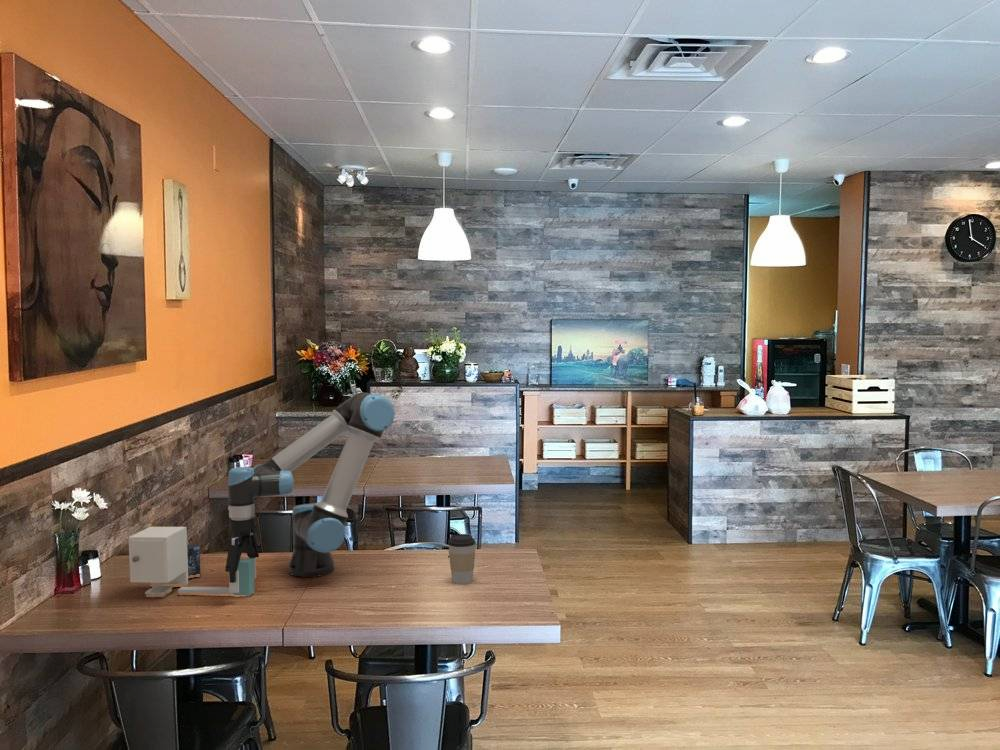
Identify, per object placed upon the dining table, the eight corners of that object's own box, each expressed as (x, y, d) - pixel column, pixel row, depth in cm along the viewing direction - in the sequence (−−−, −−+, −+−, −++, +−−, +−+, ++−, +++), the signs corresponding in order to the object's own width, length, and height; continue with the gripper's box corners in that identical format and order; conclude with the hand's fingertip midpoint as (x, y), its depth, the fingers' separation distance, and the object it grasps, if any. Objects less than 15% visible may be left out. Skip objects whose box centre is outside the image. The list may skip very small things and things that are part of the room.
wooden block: (172, 592, 248) (172, 586, 248) (163, 598, 242) (163, 592, 242) (154, 592, 248) (153, 586, 248) (144, 598, 243) (144, 592, 242)
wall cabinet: (188, 586, 252) (186, 526, 251) (166, 601, 238) (164, 538, 237) (152, 586, 253) (150, 526, 252) (128, 601, 239) (126, 538, 238)
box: (177, 582, 256) (176, 550, 256) (170, 578, 261) (169, 547, 260) (201, 577, 262) (200, 546, 261) (194, 573, 266) (193, 543, 265)
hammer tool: (254, 593, 245) (253, 558, 245) (249, 597, 241) (248, 562, 241) (183, 592, 247) (182, 557, 246) (177, 596, 243) (176, 561, 242)
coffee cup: (478, 576, 259) (477, 532, 258) (474, 585, 250) (473, 539, 249) (451, 576, 259) (450, 531, 259) (446, 585, 250) (445, 539, 250)
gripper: (245, 508, 255) (247, 572, 256) (212, 527, 230) (214, 598, 231) (268, 508, 254) (269, 573, 255) (237, 527, 229) (238, 598, 230)
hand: (243, 585), depth 243 cm, fingers open, 13 cm apart
